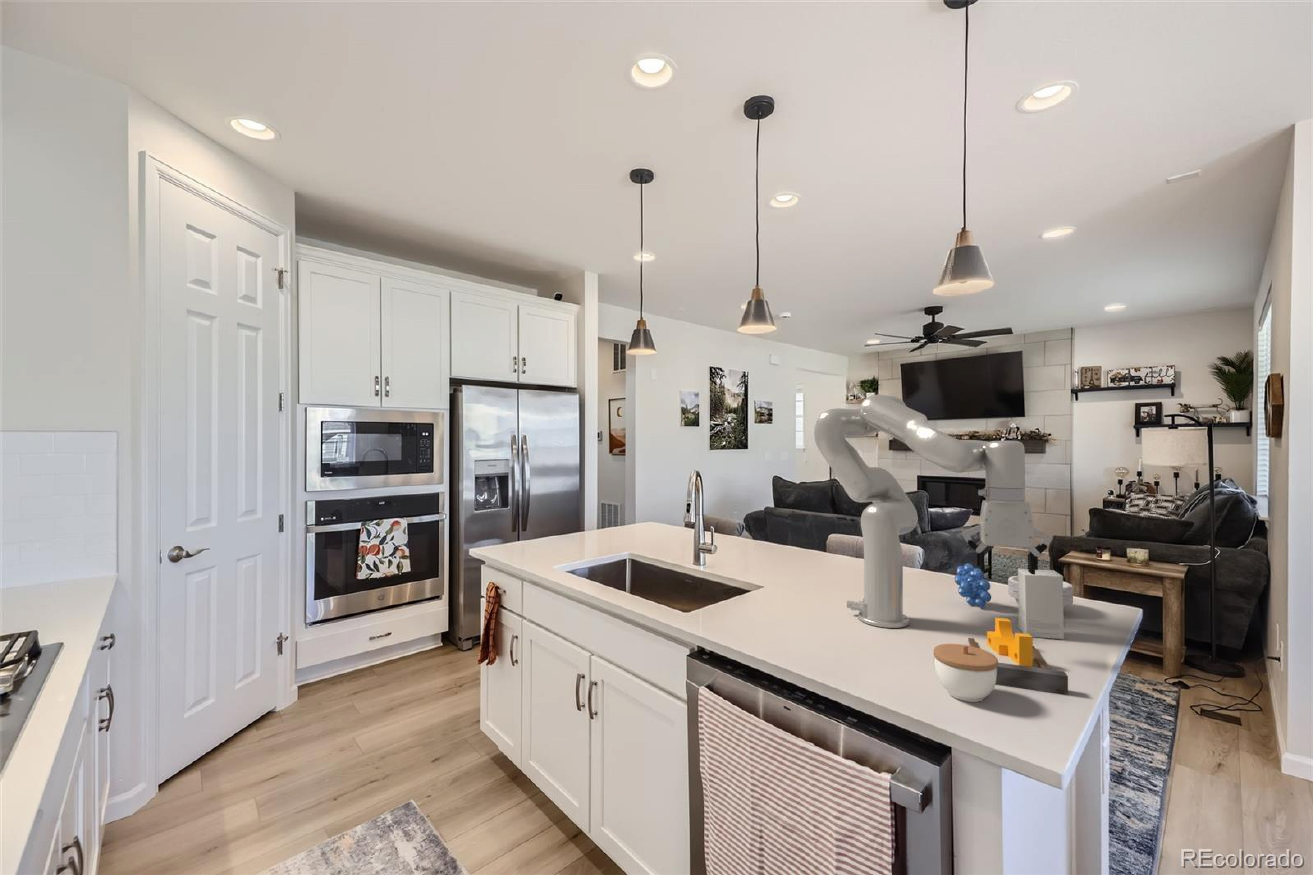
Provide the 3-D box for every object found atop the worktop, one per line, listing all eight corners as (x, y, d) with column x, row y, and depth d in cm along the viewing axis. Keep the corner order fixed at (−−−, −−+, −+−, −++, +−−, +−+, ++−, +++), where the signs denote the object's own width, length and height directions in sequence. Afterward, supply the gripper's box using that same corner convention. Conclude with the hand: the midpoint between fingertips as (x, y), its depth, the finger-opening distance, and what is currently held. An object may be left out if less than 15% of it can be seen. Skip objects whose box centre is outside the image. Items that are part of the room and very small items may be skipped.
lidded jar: (1003, 713, 98) (1003, 660, 98) (935, 701, 102) (935, 651, 102) (992, 687, 108) (992, 639, 108) (931, 678, 112) (931, 632, 112)
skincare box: (1055, 631, 138) (1055, 569, 138) (1065, 641, 132) (1065, 576, 132) (1016, 628, 141) (1016, 567, 141) (1024, 636, 135) (1024, 573, 135)
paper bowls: (1045, 600, 165) (1045, 573, 165) (1087, 617, 149) (1087, 587, 149) (996, 601, 164) (996, 574, 164) (1033, 618, 149) (1033, 588, 149)
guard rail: (980, 681, 110) (980, 664, 110) (965, 640, 132) (965, 626, 132) (1067, 694, 105) (1067, 676, 105) (1036, 649, 127) (1036, 634, 127)
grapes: (944, 601, 163) (944, 561, 163) (961, 599, 166) (961, 559, 166) (978, 613, 152) (978, 570, 152) (996, 610, 155) (996, 568, 155)
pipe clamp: (987, 644, 130) (987, 617, 130) (1007, 646, 129) (1007, 618, 129) (1010, 665, 118) (1010, 635, 118) (1032, 667, 117) (1032, 637, 117)
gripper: (963, 495, 124) (964, 572, 124) (1056, 498, 117) (1057, 578, 117) (959, 492, 131) (960, 564, 131) (1046, 494, 124) (1047, 570, 124)
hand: (1006, 571), depth 124 cm, fingers open, 9 cm apart
